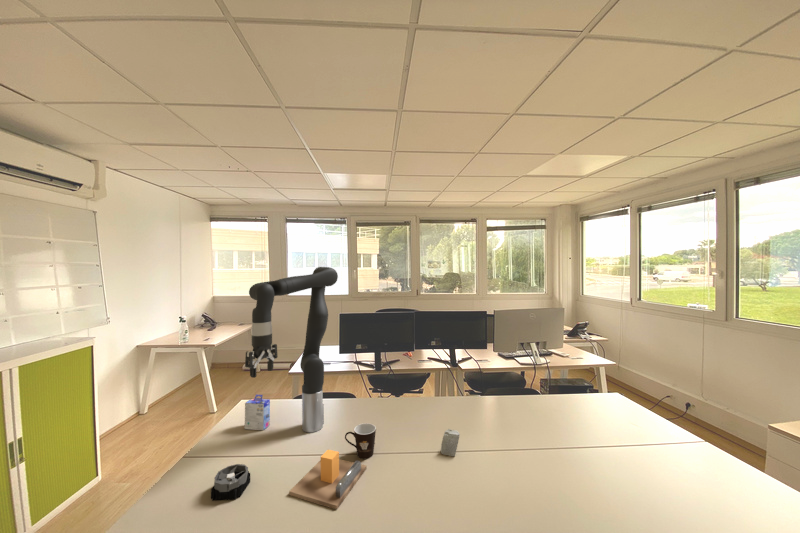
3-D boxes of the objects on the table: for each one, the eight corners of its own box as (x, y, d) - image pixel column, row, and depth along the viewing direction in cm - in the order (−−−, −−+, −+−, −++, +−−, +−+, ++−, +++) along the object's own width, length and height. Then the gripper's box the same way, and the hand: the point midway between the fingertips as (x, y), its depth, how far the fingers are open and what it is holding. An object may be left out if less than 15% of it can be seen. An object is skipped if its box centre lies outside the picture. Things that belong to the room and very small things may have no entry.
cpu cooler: (224, 463, 105) (253, 462, 106) (224, 480, 105) (253, 479, 106) (206, 484, 95) (239, 483, 95) (206, 503, 95) (239, 501, 95)
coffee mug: (380, 450, 121) (379, 425, 121) (369, 463, 113) (368, 436, 113) (355, 444, 126) (355, 420, 126) (343, 455, 118) (343, 429, 118)
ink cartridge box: (270, 424, 143) (270, 394, 143) (264, 430, 138) (263, 399, 138) (251, 423, 144) (251, 393, 145) (244, 429, 139) (243, 398, 139)
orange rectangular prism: (328, 472, 107) (327, 449, 107) (339, 474, 105) (338, 451, 105) (320, 480, 102) (320, 456, 103) (332, 483, 101) (331, 459, 101)
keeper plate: (324, 458, 116) (324, 445, 116) (366, 468, 110) (366, 454, 110) (289, 495, 98) (289, 479, 98) (336, 509, 91) (336, 492, 91)
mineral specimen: (463, 455, 116) (459, 435, 116) (441, 458, 118) (437, 438, 118) (463, 444, 123) (459, 425, 123) (442, 446, 125) (438, 427, 125)
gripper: (254, 337, 112) (255, 381, 112) (282, 330, 126) (282, 369, 125) (239, 336, 115) (240, 378, 115) (268, 329, 128) (268, 367, 128)
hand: (262, 373), depth 120 cm, fingers open, 8 cm apart
